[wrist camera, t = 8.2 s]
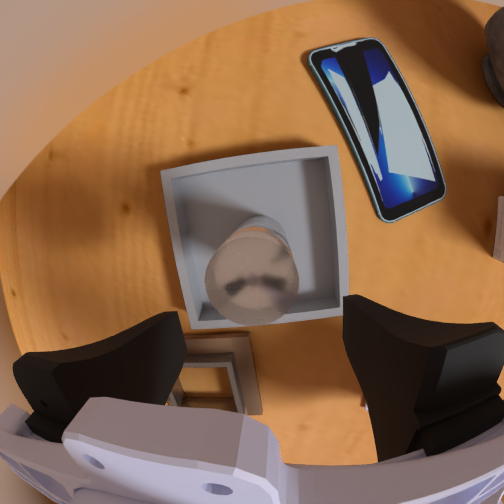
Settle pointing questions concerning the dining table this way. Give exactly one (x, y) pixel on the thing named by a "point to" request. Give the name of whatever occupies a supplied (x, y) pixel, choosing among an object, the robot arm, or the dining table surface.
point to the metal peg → (253, 274)
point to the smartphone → (381, 126)
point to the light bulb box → (499, 232)
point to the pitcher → (495, 56)
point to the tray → (262, 204)
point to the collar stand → (238, 367)
